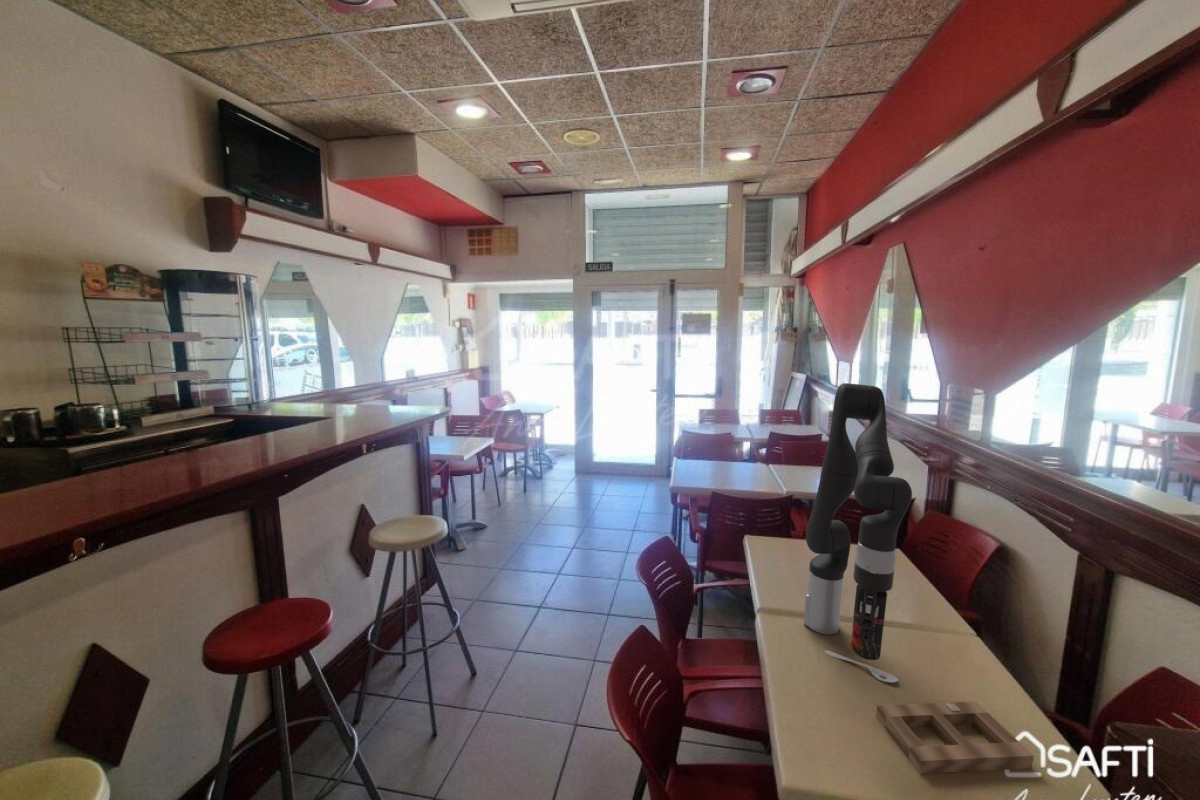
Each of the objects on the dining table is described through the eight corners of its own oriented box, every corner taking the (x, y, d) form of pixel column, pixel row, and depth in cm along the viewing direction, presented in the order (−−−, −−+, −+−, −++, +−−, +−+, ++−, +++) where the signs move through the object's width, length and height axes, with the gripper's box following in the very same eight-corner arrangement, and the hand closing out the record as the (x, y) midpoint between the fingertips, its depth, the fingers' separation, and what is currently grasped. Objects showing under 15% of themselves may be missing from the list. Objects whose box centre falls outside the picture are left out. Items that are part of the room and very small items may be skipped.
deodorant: (884, 661, 103) (891, 599, 100) (855, 657, 104) (861, 596, 102) (874, 644, 109) (881, 584, 106) (847, 640, 110) (852, 581, 107)
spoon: (896, 690, 117) (896, 684, 117) (811, 650, 131) (811, 645, 131) (900, 681, 120) (900, 675, 120) (816, 643, 134) (817, 638, 134)
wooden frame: (919, 773, 95) (921, 759, 94) (875, 716, 109) (877, 704, 108) (1031, 768, 96) (1034, 754, 96) (974, 712, 110) (976, 700, 109)
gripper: (858, 546, 111) (852, 611, 114) (851, 572, 99) (844, 644, 102) (896, 555, 107) (888, 622, 109) (892, 583, 95) (884, 658, 98)
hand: (867, 632), depth 106 cm, fingers closed on deodorant, 6 cm apart
